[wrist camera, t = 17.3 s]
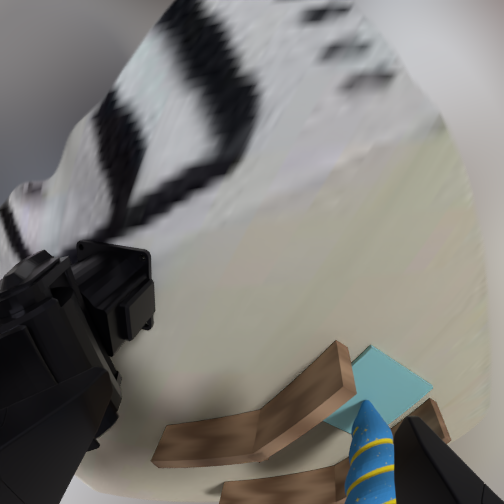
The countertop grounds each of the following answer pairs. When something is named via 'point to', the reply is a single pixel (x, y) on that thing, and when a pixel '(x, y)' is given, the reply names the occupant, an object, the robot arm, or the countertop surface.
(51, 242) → the countertop surface
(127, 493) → the countertop surface
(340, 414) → the pad
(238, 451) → the channel
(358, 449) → the ornament
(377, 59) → the countertop surface
